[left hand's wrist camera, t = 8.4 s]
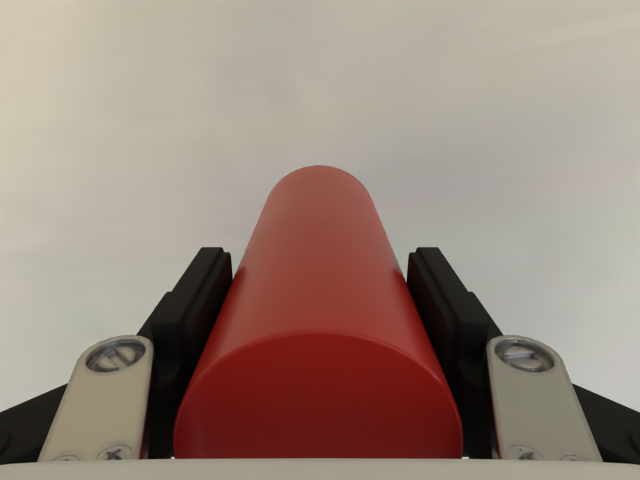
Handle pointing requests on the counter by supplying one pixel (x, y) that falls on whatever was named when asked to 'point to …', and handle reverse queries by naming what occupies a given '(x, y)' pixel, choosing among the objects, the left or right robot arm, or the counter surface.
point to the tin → (318, 342)
